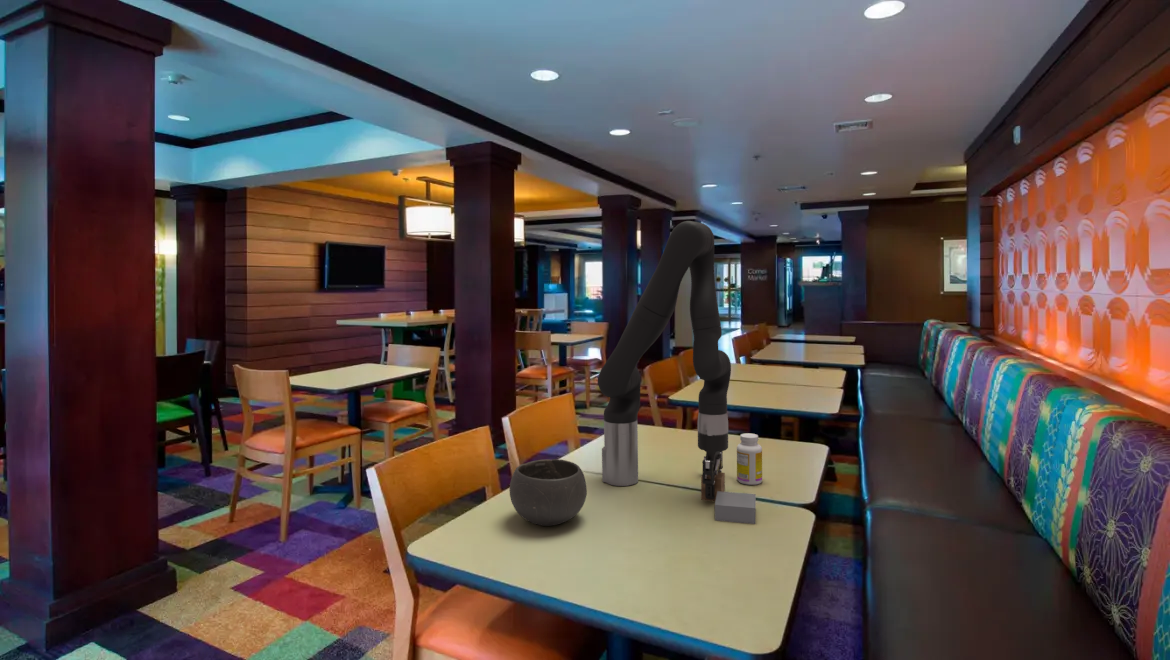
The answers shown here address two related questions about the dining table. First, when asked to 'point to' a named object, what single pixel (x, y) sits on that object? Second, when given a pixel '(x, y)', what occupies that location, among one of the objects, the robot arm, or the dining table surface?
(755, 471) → the supplement bottle
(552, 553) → the dining table surface
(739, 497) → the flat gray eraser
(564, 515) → the bowl
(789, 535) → the dining table surface
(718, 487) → the walnut block
